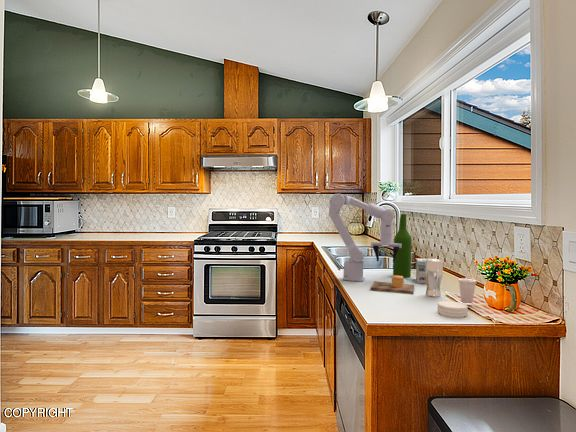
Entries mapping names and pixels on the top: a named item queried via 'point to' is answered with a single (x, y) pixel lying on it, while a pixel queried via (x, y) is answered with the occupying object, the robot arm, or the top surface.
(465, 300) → the smoothie
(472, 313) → the top surface
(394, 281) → the orange brown block
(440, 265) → the beer glass
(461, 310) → the coaster
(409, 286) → the junction board
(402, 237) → the wine bottle
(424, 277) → the light bulb box
